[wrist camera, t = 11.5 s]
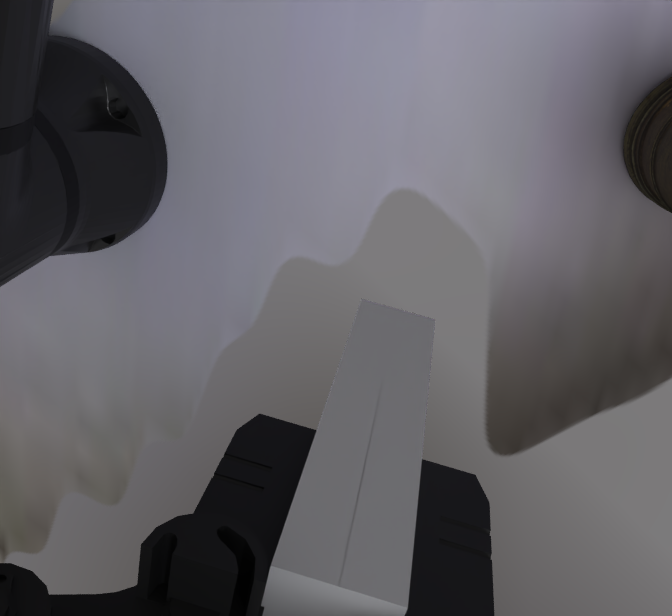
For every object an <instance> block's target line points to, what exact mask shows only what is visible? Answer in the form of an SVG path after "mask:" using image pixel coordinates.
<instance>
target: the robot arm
mask: <svg viewBox="0 0 672 616" xmlns="http://www.w3.org/2000/svg"><path fill="white" fill-rule="evenodd" d="M53 2H54V0H0V287H1V286H2V285H4V284H5V283H7V282H9V281H10V280H12V279H13V278H15V277H17V276H18V275H20V274H21V273H23V272H24V271H26V270H28V269H29V268H31V267H33V266H34V265H36V264H38V263H39V262H41V261H42V260H44V259H45V258H47V257H49V256H55V255H65V254H76V253H87V252H94V251H98V250H102V249H105V248H108V247H111V246H113V245H115V244H117V243H119V242H121V241H122V240H124V239H125V238H127V237H128V236H130V235H131V234H133V233H134V232H136V231H137V230H138V229H140V228H141V227H142V226H143V225H144V224H145V223H146V222H147V221H148V220H149V219H150V217H151V216H152V215H153V213H154V212H155V210H156V208H157V207H158V205H159V202H160V200H161V198H162V195H163V192H164V188H165V183H166V177H167V152H166V145H165V140H164V136H163V132H162V129H161V126H160V123H159V120H158V118H157V115H156V113H155V111H154V109H153V107H152V105H151V103H150V101H149V99H148V98H147V96H146V95H145V93H144V92H143V90H142V89H141V87H140V86H139V85H138V83H137V82H136V81H135V80H134V79H133V77H132V76H131V75H130V74H129V73H128V72H127V71H126V70H125V69H124V68H123V67H122V66H121V65H119V64H118V63H117V62H116V61H115V60H113V59H112V58H111V57H109V56H108V55H107V54H105V53H103V52H102V51H100V50H98V49H97V48H95V47H93V46H91V45H88V44H86V43H84V42H81V41H78V40H75V39H71V38H67V37H61V36H48V33H49V27H50V21H51V14H52V8H53ZM434 326H435V319H433V318H429V317H425V316H422V315H418V314H415V313H411V312H408V311H404V310H400V309H397V308H393V307H390V306H386V305H382V304H379V303H375V302H372V301H368V300H365V299H361V301H360V304H359V307H358V310H357V313H356V316H355V319H354V322H353V325H352V328H351V331H350V334H349V337H348V340H347V343H346V345H345V349H344V351H343V354H342V357H341V360H340V363H339V366H338V369H337V372H336V375H335V378H334V381H333V384H332V387H331V390H330V393H329V396H328V399H327V401H326V404H325V407H324V410H323V413H322V416H321V419H320V422H319V425H318V428H317V430H314V429H310V428H307V427H303V426H299V425H297V424H293V423H290V422H286V421H283V420H279V419H276V418H272V417H269V416H266V415H263V414H258V415H257V416H256V417H254V418H253V419H251V420H250V421H249V422H247V423H246V424H244V425H243V426H242V427H240V428H239V429H237V431H236V432H235V434H234V437H233V438H232V440H231V442H230V444H229V446H228V448H227V450H226V452H225V454H224V457H223V458H222V459H221V461H220V463H219V465H218V467H217V469H216V471H215V473H214V476H213V478H212V479H211V481H210V483H209V484H208V486H207V488H206V490H205V492H204V494H203V496H202V498H201V500H200V502H199V504H198V505H197V507H196V509H195V511H194V513H193V514H188V515H182V516H177V517H175V518H173V519H171V520H169V521H168V522H166V523H164V524H162V525H160V526H158V527H156V528H155V529H154V531H153V532H152V533H151V534H150V535H149V536H148V537H147V538H146V540H145V541H144V542H143V543H142V544H141V552H140V562H139V573H138V584H137V585H136V586H134V587H131V588H128V589H125V590H122V591H119V592H114V593H104V594H82V595H81V594H77V595H49V594H48V590H47V586H46V585H45V584H44V583H43V582H42V581H41V580H40V579H39V578H38V577H37V576H36V575H35V574H34V573H33V572H32V571H30V570H27V569H25V568H22V567H19V566H16V565H14V564H11V563H0V616H494V601H493V600H494V598H493V577H492V576H493V575H492V560H491V553H492V552H491V536H489V535H490V530H491V529H490V506H489V501H488V499H487V497H486V495H485V493H484V491H483V489H482V487H481V485H480V483H479V481H478V479H477V477H476V475H474V474H470V473H467V472H464V471H460V470H457V469H454V468H450V467H447V466H443V465H440V464H437V463H433V462H430V461H426V460H423V459H422V452H423V443H424V432H425V422H426V411H427V400H428V390H429V380H430V369H431V358H432V347H433V338H434Z"/></svg>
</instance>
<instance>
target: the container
mask: <svg viewBox="0 0 672 616" xmlns="http://www.w3.org/2000/svg"><path fill="white" fill-rule="evenodd" d="M624 158H625V163H626V167H627V169H628V172H629V175H630V177H631V179H632V181H633V182H634V184H635V185H636V186H637V188H638V189H639V190H640V191H641V192H642V193H643V194H644V195H645V196H646V197H647V198H649V199H650V200H652V201H653V202H655V203H656V204H657V205H659V206H660V207H662V208H664V209H665V210H667V211H669V212H671V213H672V77H670V78H669V79H667V80H666V81H664V82H663V83H662V84H660V85H659V86H658V87H657V88H655V89H654V90H653V91H652V92H651V93H650V94H649V95H648V96H647V97H646V98H645V99H644V101H643V102H642V103H641V104H640V105H639V107H638V108H637V110H636V111H635V113H634V114H633V116H632V118H631V120H630V122H629V125H628V127H627V130H626V134H625V139H624Z"/></svg>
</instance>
